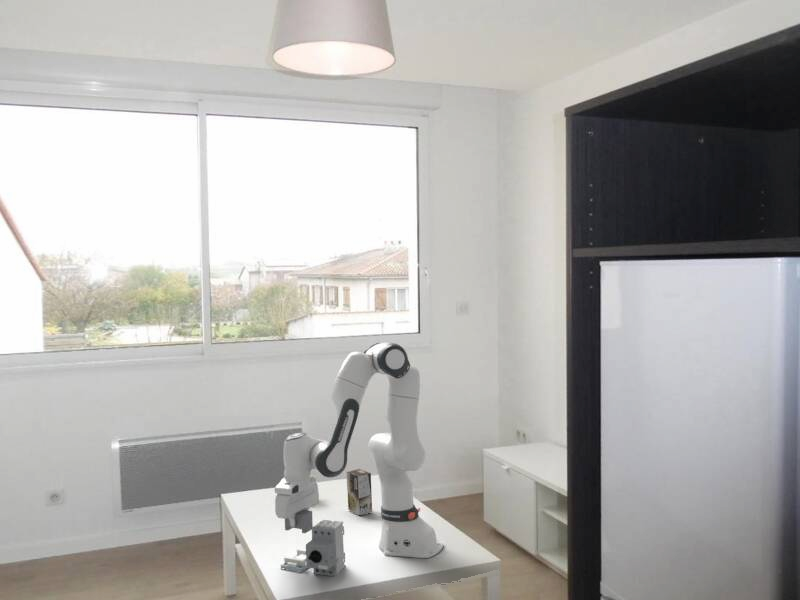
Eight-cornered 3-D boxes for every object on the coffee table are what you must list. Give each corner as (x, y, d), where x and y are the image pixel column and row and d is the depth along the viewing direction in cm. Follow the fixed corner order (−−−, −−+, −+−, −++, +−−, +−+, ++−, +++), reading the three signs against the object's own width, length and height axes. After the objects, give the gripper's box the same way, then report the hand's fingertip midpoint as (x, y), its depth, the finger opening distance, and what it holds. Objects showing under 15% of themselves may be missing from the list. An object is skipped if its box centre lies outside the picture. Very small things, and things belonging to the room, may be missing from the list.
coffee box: (373, 513, 293) (371, 473, 292) (359, 516, 290) (357, 476, 289) (361, 507, 301) (359, 468, 300) (347, 510, 297) (346, 471, 296)
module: (312, 529, 245) (312, 510, 245) (304, 533, 241) (304, 514, 241) (292, 525, 249) (292, 507, 249) (285, 530, 245) (284, 511, 245)
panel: (324, 556, 251) (324, 547, 251) (301, 572, 238) (300, 563, 238) (305, 553, 255) (304, 544, 254) (280, 568, 242) (280, 559, 242)
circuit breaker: (304, 581, 231) (302, 534, 231) (325, 563, 245) (323, 519, 244) (326, 584, 229) (324, 537, 228) (345, 566, 242) (343, 521, 241)
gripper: (307, 473, 255) (308, 512, 256) (271, 489, 237) (272, 531, 237) (322, 475, 252) (323, 515, 253) (287, 491, 234) (288, 534, 234)
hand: (298, 523), depth 245 cm, fingers closed on module, 4 cm apart
